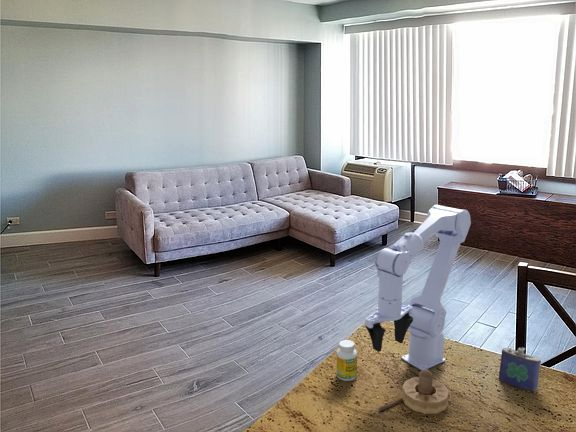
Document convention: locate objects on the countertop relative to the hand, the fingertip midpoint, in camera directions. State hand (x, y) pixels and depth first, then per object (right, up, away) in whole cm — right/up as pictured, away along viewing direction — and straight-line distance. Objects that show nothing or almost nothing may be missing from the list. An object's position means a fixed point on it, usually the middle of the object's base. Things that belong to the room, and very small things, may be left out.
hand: (388, 345), depth 128 cm
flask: (+33, -10, 0) cm, 35 cm away
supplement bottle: (-10, -10, +6) cm, 15 cm away
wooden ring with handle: (+5, -12, -7) cm, 15 cm away
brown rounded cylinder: (+8, -12, -5) cm, 15 cm away
